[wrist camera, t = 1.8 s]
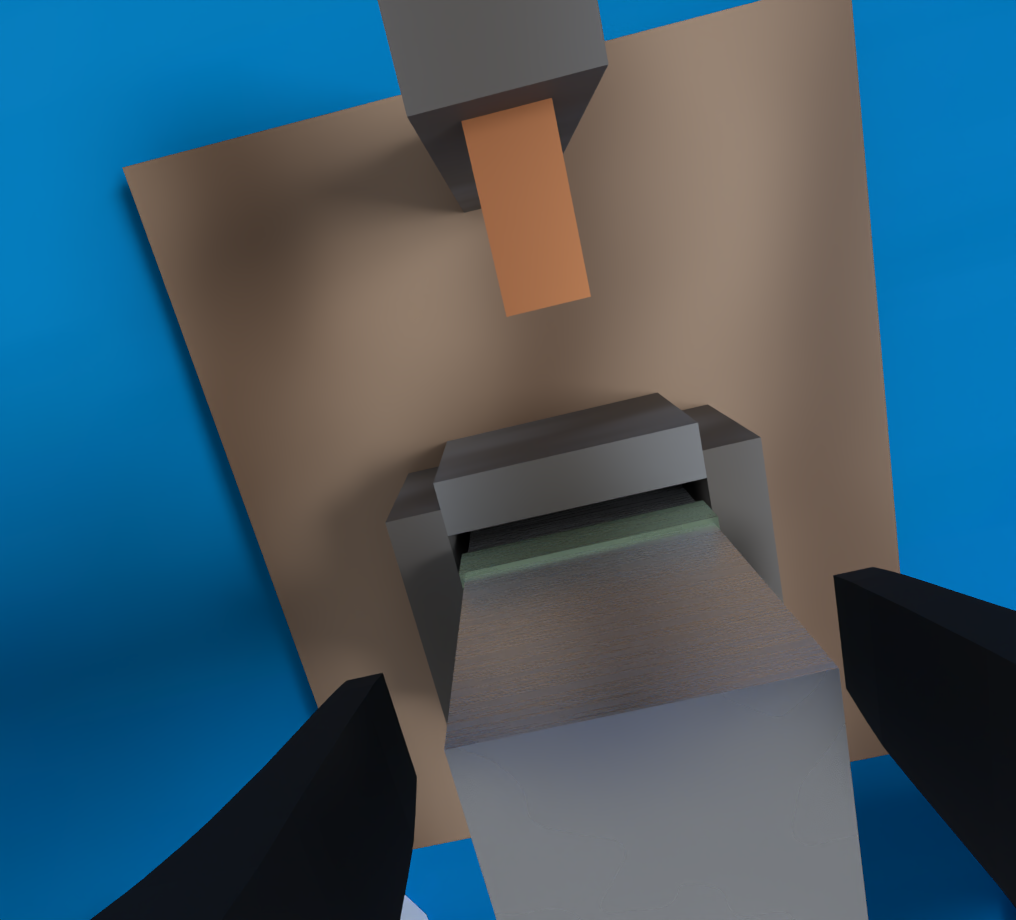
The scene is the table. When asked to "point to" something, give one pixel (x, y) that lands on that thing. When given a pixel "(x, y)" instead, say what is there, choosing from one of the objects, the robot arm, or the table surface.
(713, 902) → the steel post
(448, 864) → the table surface
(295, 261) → the stand
